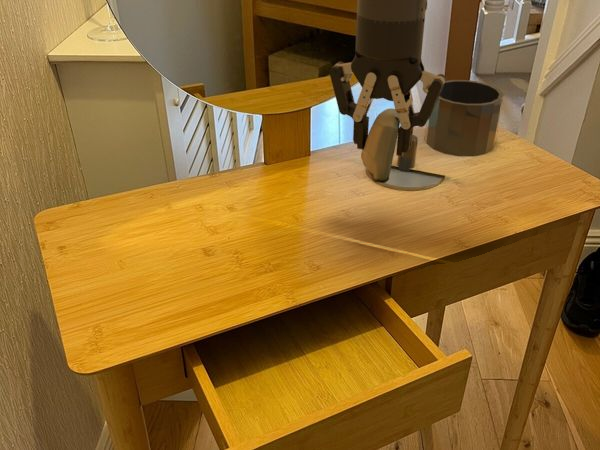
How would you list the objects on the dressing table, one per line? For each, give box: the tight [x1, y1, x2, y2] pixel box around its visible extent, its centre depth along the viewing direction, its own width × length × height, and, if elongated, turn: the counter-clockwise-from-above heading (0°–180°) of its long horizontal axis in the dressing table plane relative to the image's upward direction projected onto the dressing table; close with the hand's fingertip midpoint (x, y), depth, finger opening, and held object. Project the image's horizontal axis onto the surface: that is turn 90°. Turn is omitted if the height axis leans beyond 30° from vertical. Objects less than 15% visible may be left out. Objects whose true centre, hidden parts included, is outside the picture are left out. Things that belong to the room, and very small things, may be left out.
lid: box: [365, 134, 446, 192], centre depth 97 cm, size 12×12×6 cm
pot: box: [423, 79, 504, 157], centre depth 103 cm, size 11×11×10 cm
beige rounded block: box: [360, 107, 401, 183], centre depth 78 cm, size 6×5×8 cm
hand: (381, 149), depth 78 cm, fingers closed on beige rounded block, 4 cm apart
